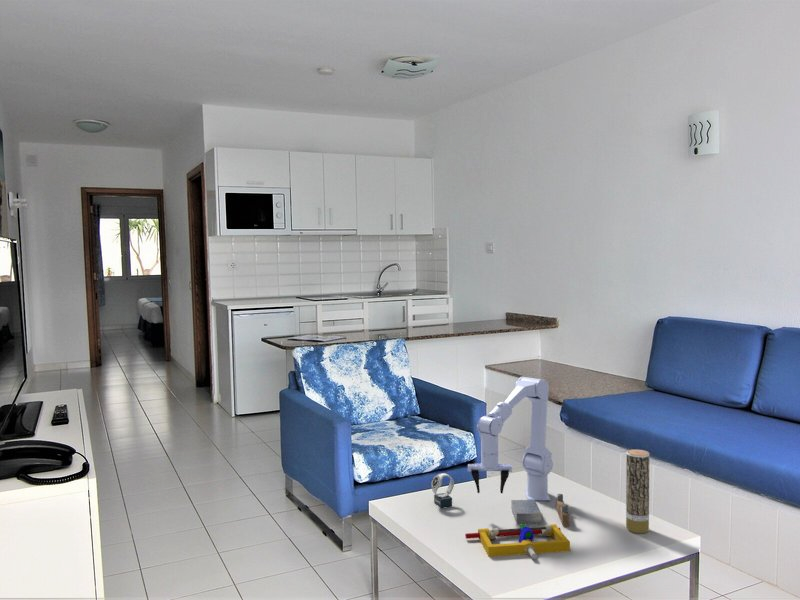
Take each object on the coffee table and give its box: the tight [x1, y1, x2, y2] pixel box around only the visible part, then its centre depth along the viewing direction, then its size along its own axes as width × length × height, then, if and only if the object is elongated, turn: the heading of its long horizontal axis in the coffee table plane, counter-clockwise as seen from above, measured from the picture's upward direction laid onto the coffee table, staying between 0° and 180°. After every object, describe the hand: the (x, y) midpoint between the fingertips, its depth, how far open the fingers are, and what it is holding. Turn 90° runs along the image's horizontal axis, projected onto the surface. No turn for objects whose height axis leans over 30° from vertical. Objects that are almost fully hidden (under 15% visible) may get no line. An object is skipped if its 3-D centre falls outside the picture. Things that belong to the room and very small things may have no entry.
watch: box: [430, 472, 455, 509], centre depth 238 cm, size 6×8×11 cm
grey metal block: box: [510, 499, 542, 525], centre depth 226 cm, size 12×8×4 cm, turn 179°
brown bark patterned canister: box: [625, 448, 650, 534], centre depth 213 cm, size 7×7×25 cm
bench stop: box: [555, 493, 570, 528], centre depth 224 cm, size 15×2×6 cm, turn 175°
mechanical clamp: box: [465, 523, 571, 559], centre depth 203 cm, size 18×6×30 cm
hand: (490, 492), depth 226 cm, fingers open, 7 cm apart
